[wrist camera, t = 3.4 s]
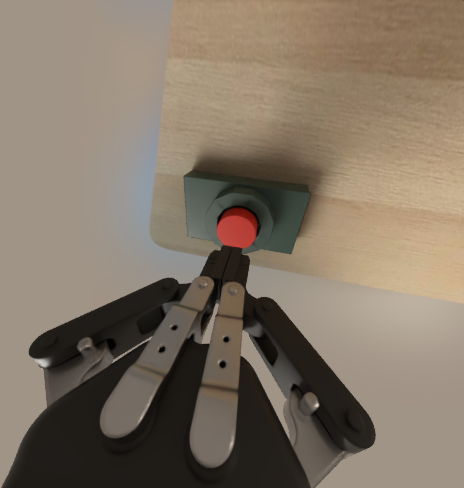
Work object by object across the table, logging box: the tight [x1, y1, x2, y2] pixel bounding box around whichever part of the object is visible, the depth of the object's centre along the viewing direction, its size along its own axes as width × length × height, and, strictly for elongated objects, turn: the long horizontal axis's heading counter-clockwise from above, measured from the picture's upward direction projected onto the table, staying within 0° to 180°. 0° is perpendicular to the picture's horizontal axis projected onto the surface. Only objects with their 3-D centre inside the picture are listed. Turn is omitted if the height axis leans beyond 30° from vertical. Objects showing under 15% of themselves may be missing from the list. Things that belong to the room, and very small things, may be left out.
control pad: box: [184, 171, 311, 254], centre depth 20 cm, size 12×7×4 cm, turn 85°
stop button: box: [217, 207, 258, 249], centre depth 18 cm, size 4×4×2 cm
